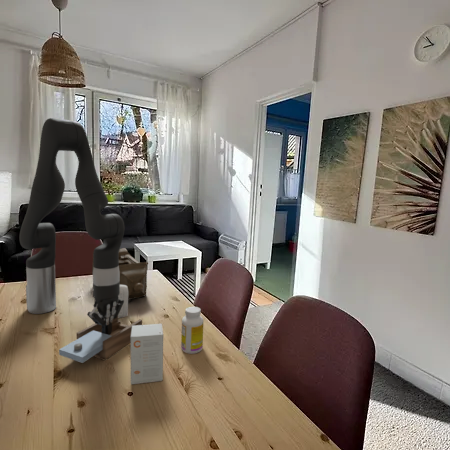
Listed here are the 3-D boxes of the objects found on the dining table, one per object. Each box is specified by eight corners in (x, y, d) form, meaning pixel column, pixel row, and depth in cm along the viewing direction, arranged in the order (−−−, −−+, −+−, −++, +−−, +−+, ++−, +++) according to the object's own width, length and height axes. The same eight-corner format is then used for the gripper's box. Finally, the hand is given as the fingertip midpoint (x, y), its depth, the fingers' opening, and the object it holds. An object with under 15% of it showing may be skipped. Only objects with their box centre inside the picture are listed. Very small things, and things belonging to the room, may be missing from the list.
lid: (59, 354, 83) (59, 346, 83) (93, 335, 94) (93, 327, 94) (82, 363, 80) (82, 353, 80) (114, 341, 91) (114, 333, 91)
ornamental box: (156, 309, 128) (163, 266, 127) (115, 314, 117) (122, 267, 115) (124, 283, 155) (130, 248, 153) (88, 285, 143) (93, 247, 142)
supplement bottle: (205, 345, 97) (207, 307, 95) (197, 356, 91) (198, 315, 89) (186, 341, 99) (188, 303, 97) (177, 351, 93) (178, 311, 91)
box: (76, 350, 91) (76, 332, 90) (115, 327, 106) (115, 312, 105) (105, 360, 87) (105, 342, 86) (141, 335, 101) (142, 320, 100)
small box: (161, 366, 85) (162, 322, 83) (162, 381, 79) (163, 334, 77) (131, 369, 83) (131, 324, 81) (130, 385, 77) (130, 336, 75)
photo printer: (126, 312, 118) (126, 281, 116) (129, 316, 115) (129, 284, 113) (98, 317, 112) (97, 285, 111) (100, 322, 109) (100, 289, 107)
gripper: (112, 272, 99) (113, 323, 101) (78, 284, 87) (80, 341, 89) (131, 276, 96) (131, 328, 98) (98, 289, 84) (99, 348, 86)
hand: (106, 334), depth 94 cm, fingers closed
